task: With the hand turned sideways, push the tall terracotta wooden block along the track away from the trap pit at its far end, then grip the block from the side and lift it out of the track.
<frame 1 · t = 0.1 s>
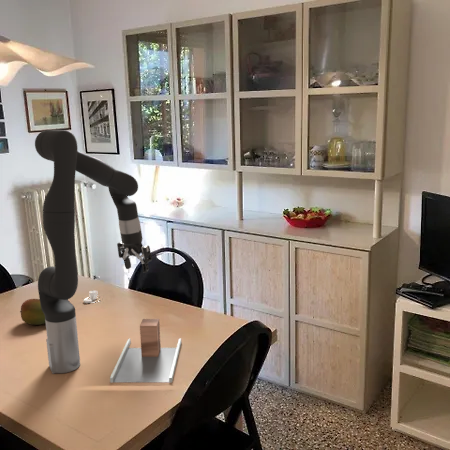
hand: (137, 270, 186), 22 cm above the table, tool pointing down, fingers open, 8 cm apart
teacup and saucer: (86, 301, 219), on the table
fruit: (39, 323, 196), on the table
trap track: (148, 363, 163), on the table
terracotta block: (151, 352, 168), point 1 cm above the table, touching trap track
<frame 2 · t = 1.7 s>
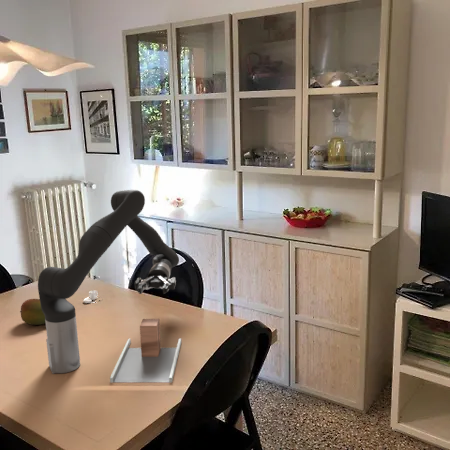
hand: (152, 291, 171), 20 cm above the table, tool horizontal, fingers open, 7 cm apart
nothing on the table moved.
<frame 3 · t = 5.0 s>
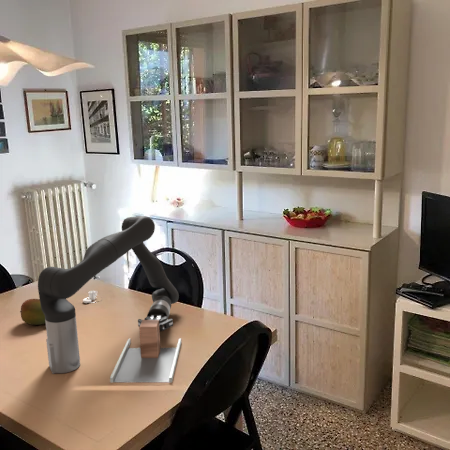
hand: (151, 333, 169), 7 cm above the table, tool horizontal, fingers closed
terracotta block: (150, 353, 167), point 1 cm above the table, touching gripper, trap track
everything else where it was.
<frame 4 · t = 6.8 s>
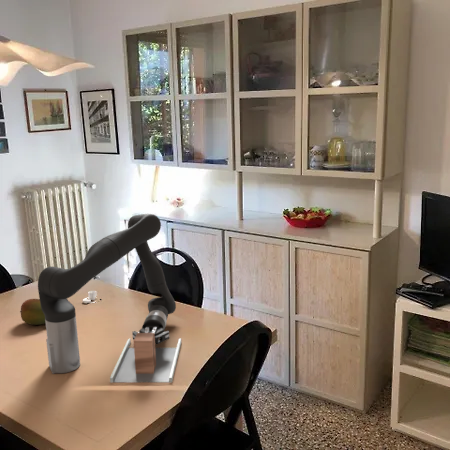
hand: (146, 347, 159), 7 cm above the table, tool horizontal, fingers closed
terracotta block: (146, 369, 158), point 1 cm above the table, touching gripper, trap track
everything else where it was.
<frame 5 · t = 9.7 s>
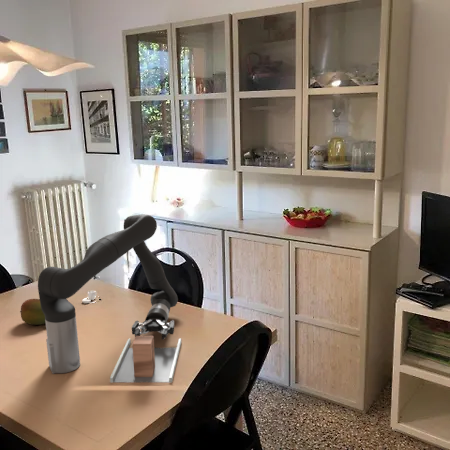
hand: (150, 336, 166), 7 cm above the table, tool horizontal, fingers open, 8 cm apart
terracotta block: (145, 372, 156), point 1 cm above the table, touching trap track
everything else where it was.
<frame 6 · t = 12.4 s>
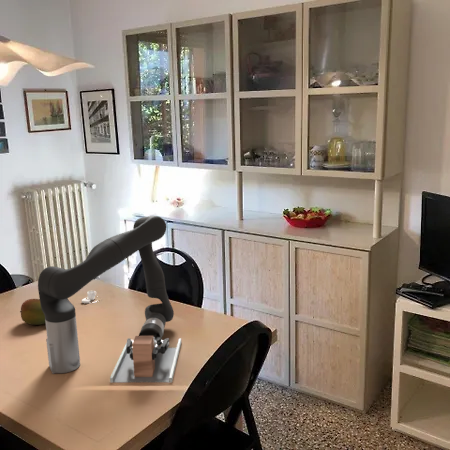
hand: (142, 357, 153), 7 cm above the table, tool horizontal, fingers open, 5 cm apart
terracotta block: (144, 372, 156), point 1 cm above the table, touching gripper, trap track
everything else where it was.
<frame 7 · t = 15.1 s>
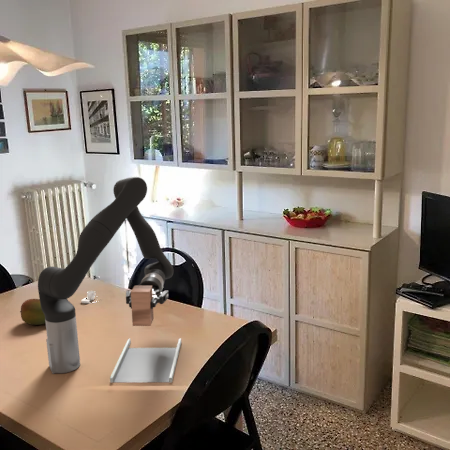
hand: (141, 305, 152), 22 cm above the table, tool horizontal, fingers closed on terracotta block, 5 cm apart
terracotta block: (143, 322, 155), point 16 cm above the table, touching gripper
everything else where it was.
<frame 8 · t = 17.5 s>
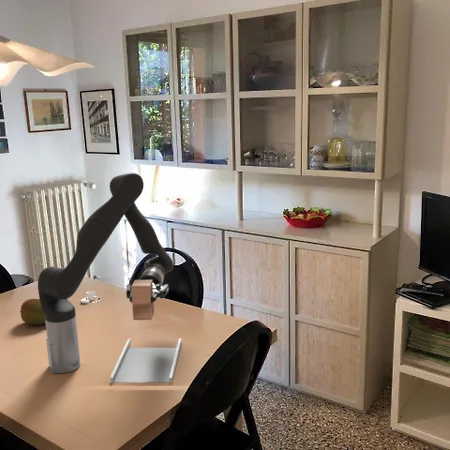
hand: (142, 300, 153), 24 cm above the table, tool horizontal, fingers closed on terracotta block, 5 cm apart
terracotta block: (143, 316, 156), point 18 cm above the table, touching gripper
at the end: the gripper is holding terracotta block; terracotta block point 17.9 cm above the table; terracotta block tilted 0° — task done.
